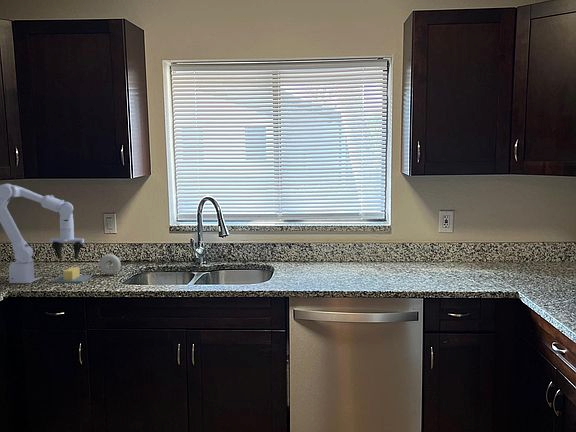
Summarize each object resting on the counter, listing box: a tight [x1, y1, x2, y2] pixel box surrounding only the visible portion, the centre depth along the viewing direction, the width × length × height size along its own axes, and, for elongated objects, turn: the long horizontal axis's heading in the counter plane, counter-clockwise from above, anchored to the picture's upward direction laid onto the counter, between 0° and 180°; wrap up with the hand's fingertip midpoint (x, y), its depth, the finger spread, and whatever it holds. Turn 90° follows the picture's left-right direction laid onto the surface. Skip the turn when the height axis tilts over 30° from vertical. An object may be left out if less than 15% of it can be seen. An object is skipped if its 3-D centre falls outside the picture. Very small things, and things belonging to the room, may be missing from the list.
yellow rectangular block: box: [62, 266, 81, 280], centre depth 232 cm, size 8×4×4 cm, turn 0°
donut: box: [98, 253, 122, 276], centre depth 242 cm, size 10×4×10 cm, turn 92°
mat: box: [50, 274, 93, 284], centre depth 232 cm, size 14×12×1 cm
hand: (67, 258), depth 233 cm, fingers open, 7 cm apart
